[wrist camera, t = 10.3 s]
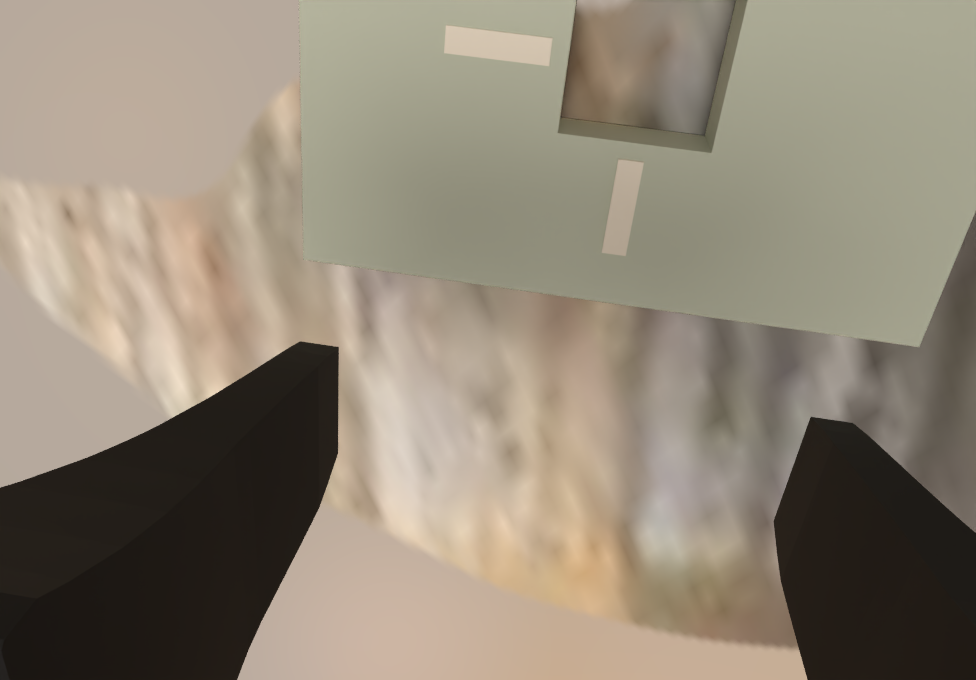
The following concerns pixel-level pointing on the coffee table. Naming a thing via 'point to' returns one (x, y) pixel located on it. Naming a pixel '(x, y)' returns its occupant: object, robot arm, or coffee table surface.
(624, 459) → the coffee table surface
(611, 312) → the coffee table surface
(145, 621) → the robot arm
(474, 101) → the plate
